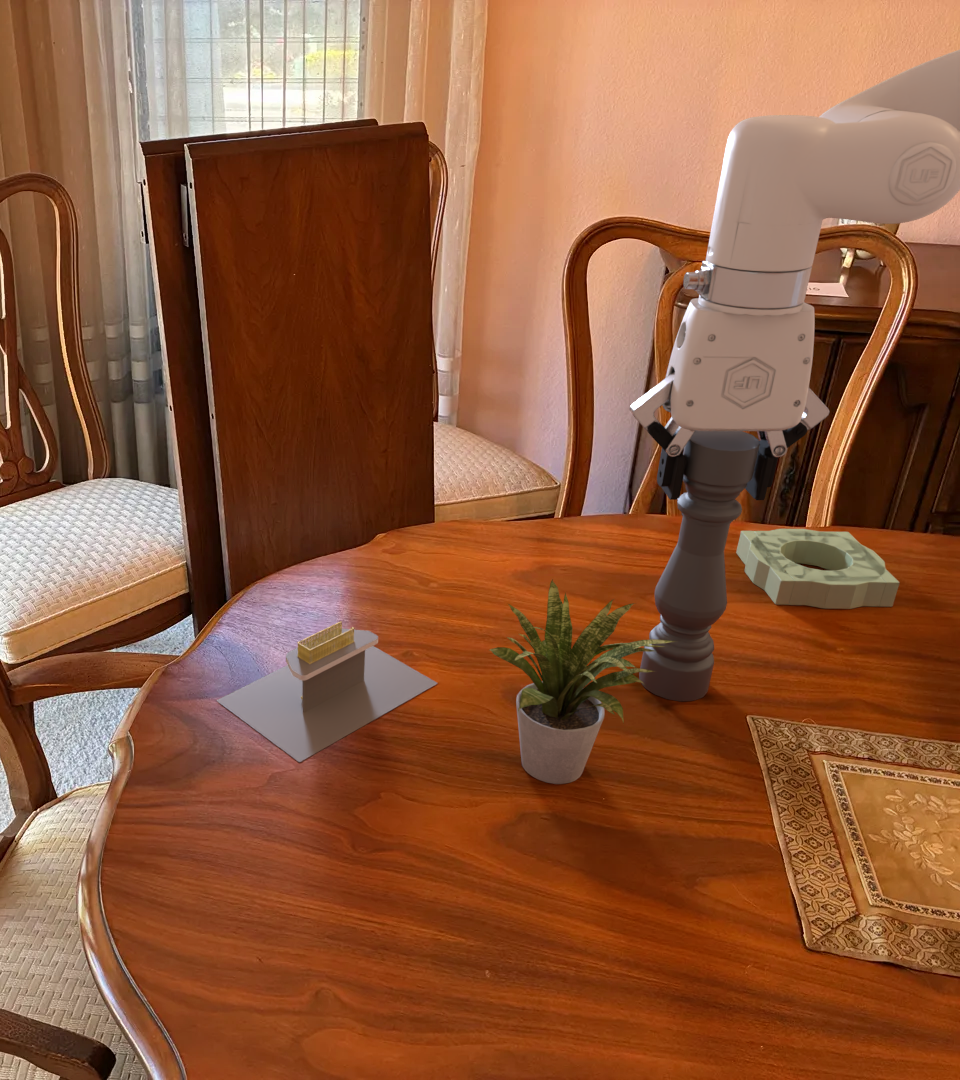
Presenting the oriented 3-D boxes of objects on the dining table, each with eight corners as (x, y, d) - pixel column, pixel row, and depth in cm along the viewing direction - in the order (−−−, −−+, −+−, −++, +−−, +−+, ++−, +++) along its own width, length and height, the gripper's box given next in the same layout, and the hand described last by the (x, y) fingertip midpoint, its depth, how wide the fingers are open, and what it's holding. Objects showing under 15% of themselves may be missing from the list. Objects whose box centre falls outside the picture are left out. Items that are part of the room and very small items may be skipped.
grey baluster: (712, 674, 97) (767, 432, 85) (702, 708, 92) (759, 457, 80) (645, 657, 99) (689, 421, 88) (632, 689, 95) (677, 444, 83)
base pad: (845, 551, 118) (851, 529, 116) (901, 610, 106) (909, 585, 105) (728, 550, 119) (733, 527, 118) (771, 607, 107) (777, 583, 106)
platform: (216, 700, 95) (213, 642, 92) (351, 633, 105) (352, 579, 102) (299, 762, 87) (299, 701, 84) (438, 683, 97) (442, 625, 94)
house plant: (595, 860, 76) (627, 683, 68) (436, 783, 84) (449, 618, 76) (664, 764, 85) (699, 599, 78) (515, 703, 93) (534, 549, 86)
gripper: (652, 298, 76) (619, 511, 84) (892, 296, 74) (834, 513, 83) (627, 277, 83) (598, 476, 91) (846, 274, 81) (797, 477, 89)
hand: (711, 492), depth 87 cm, fingers open, 6 cm apart
